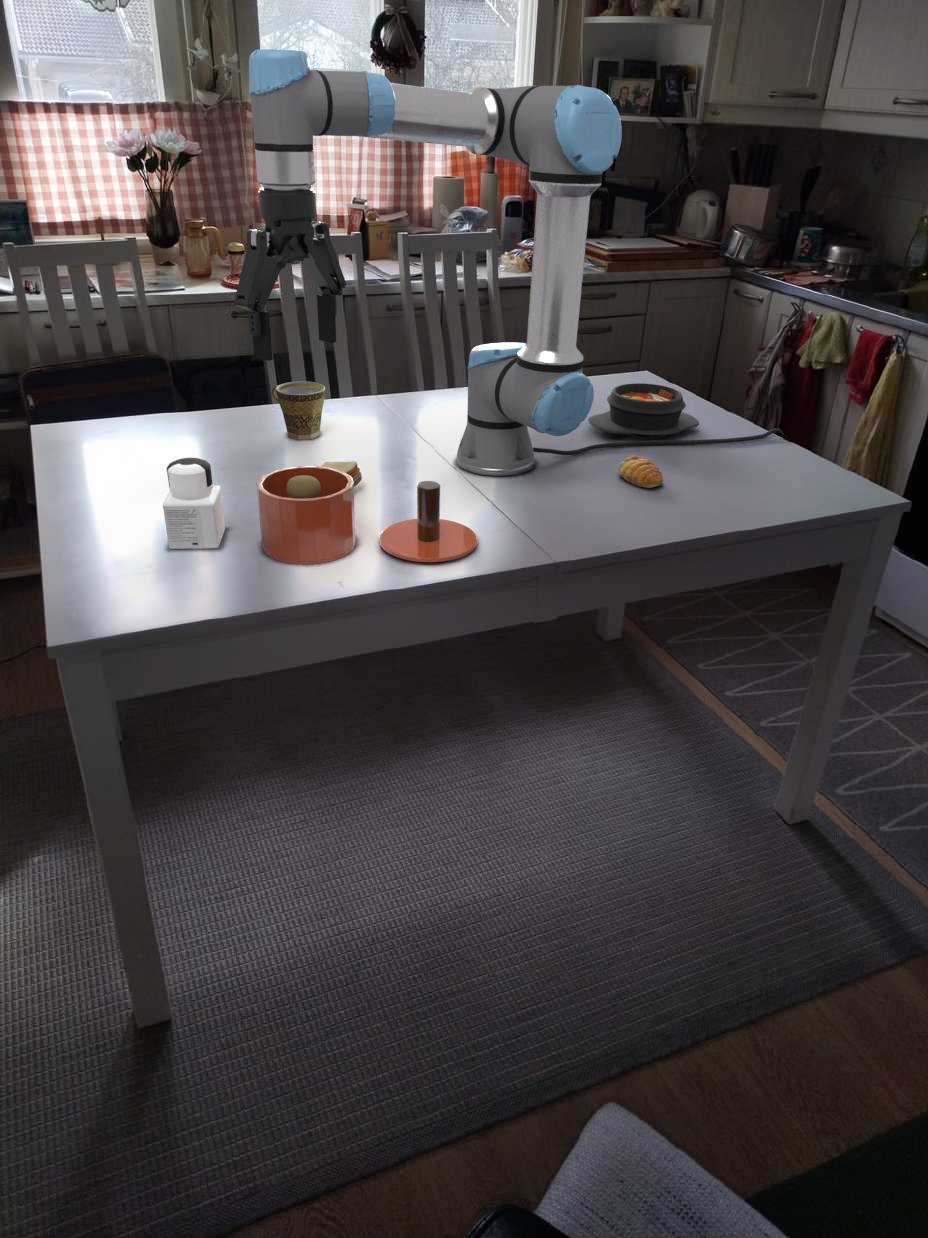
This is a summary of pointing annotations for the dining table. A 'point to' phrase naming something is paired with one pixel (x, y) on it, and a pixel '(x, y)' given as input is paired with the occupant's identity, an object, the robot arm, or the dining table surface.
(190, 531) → the container
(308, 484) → the olive pawn figure
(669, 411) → the casserole
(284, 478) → the pot
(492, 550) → the dining table surface
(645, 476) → the pastry
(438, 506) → the lid
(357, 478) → the toy sandwich meal
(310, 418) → the ceramic cup
